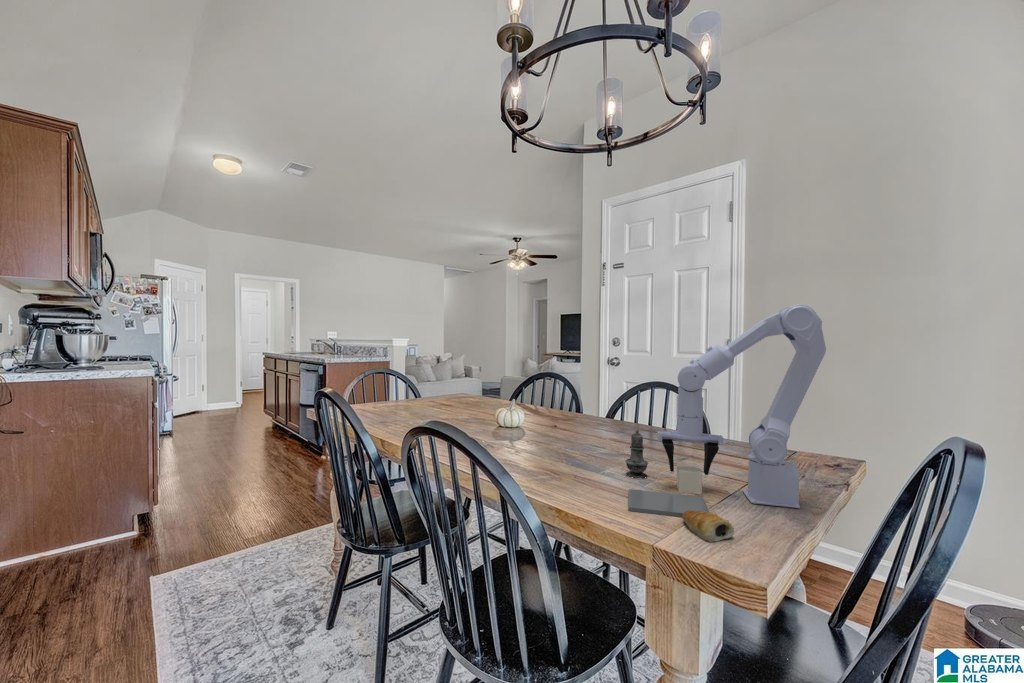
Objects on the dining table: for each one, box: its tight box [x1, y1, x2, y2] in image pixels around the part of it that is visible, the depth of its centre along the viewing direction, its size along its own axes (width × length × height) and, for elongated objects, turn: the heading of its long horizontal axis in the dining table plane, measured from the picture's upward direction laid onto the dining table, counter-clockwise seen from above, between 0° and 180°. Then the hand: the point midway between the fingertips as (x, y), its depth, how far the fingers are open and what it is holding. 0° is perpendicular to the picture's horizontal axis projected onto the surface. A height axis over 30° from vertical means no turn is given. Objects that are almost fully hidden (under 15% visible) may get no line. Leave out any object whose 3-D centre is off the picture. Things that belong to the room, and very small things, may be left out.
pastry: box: [681, 510, 735, 542], centre depth 81 cm, size 9×7×4 cm
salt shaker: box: [624, 429, 649, 479], centre depth 112 cm, size 6×6×12 cm
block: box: [676, 464, 703, 495], centre depth 102 cm, size 5×5×5 cm
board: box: [627, 488, 711, 518], centre depth 92 cm, size 16×11×1 cm
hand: (688, 472), depth 102 cm, fingers open, 7 cm apart
